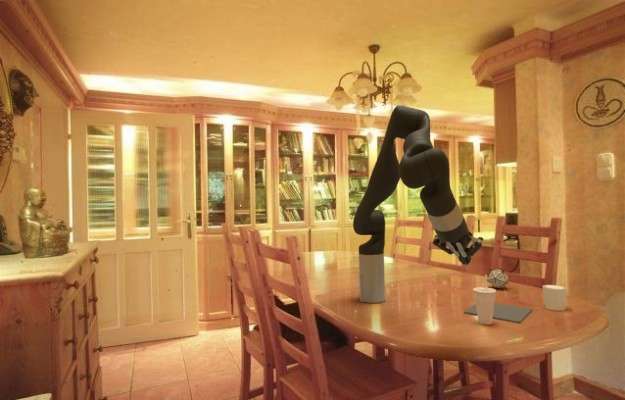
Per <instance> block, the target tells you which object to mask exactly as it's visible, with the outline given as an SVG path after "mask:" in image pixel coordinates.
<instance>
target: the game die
mask: <svg viewBox="0 0 625 400" xmlns="http://www.w3.org/2000/svg"><path fill="white" fill-rule="evenodd" d="M489 271H490V272H489V273H488V276H487V283H489V284H491V288H493V287H494V289H495V290H496V291H497V290H498V289H500V288H504V289H507V287H506V286H507V284H509V282H508V281H509V278H511V277H512V276H511V275H508V274H506V273H505V270H504V269H503V270H502V269H501V267H499V268H498V269H491V268H489Z"/></svg>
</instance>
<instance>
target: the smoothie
mask: <svg viewBox="0 0 625 400" xmlns="http://www.w3.org/2000/svg"><path fill="white" fill-rule="evenodd" d="M487 279H488V275H487V274H485V275H484V284H485V285H484V286H485V287H484V286H480V287H474V288H472V293H473V295H474V301H475V304H476V309H477V315H476V316H477V320H478V323H479V324H481V325H492V324H493V311H494V303H496V302H495V301H496V296H497V290H496V288H493V287H491V288H490V287H488V281H487Z"/></svg>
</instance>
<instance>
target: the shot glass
mask: <svg viewBox="0 0 625 400" xmlns="http://www.w3.org/2000/svg"><path fill="white" fill-rule="evenodd" d="M542 292H543V293H542V294H543V301H544V307H545V309H547V310H551V311H559V312H563V311H566V308H567V307H566V306H567V297H568V296H567V294H568V288H567V287H566V286H562V285H558V284H544V285H542Z"/></svg>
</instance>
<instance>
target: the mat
mask: <svg viewBox="0 0 625 400" xmlns="http://www.w3.org/2000/svg"><path fill="white" fill-rule="evenodd" d="M532 311H533V308H531V307H530V308H529V307H524V306H517V305H512V304H505V303H499V302H494V311H493V319H494V320H499V321H500V320H501V321H504V322H511V323H515V324H521V323H522V322H523V321H524V320H525V319H526V318H527V317H528V316H529V314H530V313H532ZM463 313H464V314H466V315H471V316H477V309H476V303H475V304H473V305H471V306H470V307H469V308H467V309H466V310H464V311H463Z"/></svg>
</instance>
